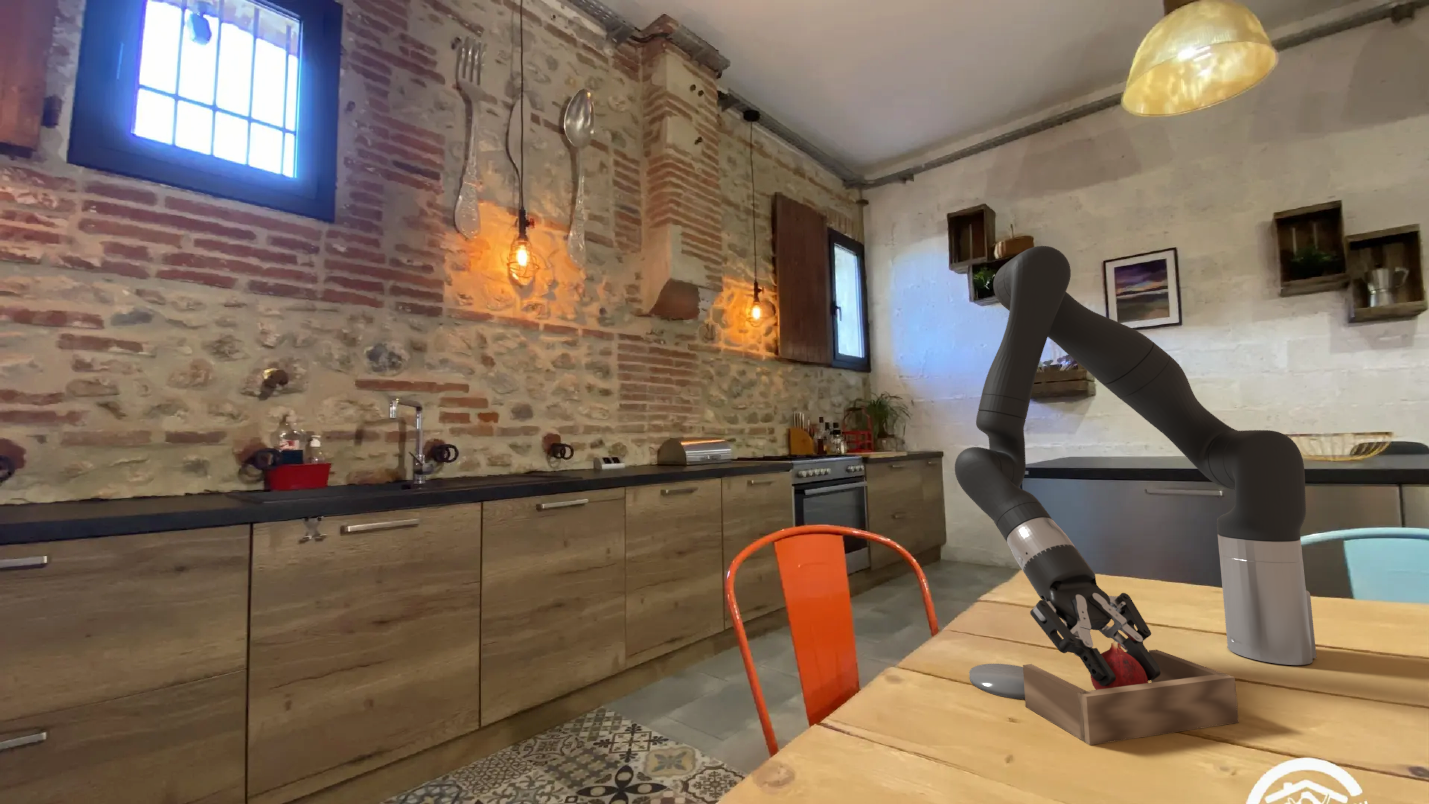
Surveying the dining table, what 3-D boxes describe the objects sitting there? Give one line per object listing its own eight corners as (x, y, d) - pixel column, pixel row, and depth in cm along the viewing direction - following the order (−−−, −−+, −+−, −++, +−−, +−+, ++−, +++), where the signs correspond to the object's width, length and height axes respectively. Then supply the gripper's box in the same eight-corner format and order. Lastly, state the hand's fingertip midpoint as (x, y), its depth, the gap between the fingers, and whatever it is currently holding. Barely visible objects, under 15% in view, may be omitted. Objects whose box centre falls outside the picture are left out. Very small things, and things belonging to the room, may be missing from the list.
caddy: (1159, 689, 77) (1156, 649, 77) (1238, 722, 67) (1234, 677, 68) (1025, 706, 72) (1022, 664, 73) (1089, 744, 63) (1086, 696, 63)
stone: (1016, 666, 85) (1015, 660, 85) (1070, 694, 76) (1070, 687, 76) (954, 673, 83) (954, 667, 83) (1002, 703, 74) (1002, 696, 74)
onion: (1161, 724, 67) (1155, 652, 68) (1105, 720, 68) (1100, 650, 69) (1136, 701, 73) (1131, 635, 74) (1084, 699, 74) (1080, 634, 75)
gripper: (1015, 545, 78) (1097, 672, 65) (1107, 539, 81) (1202, 659, 68) (991, 578, 83) (1063, 701, 70) (1078, 571, 86) (1163, 688, 73)
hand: (1131, 679), depth 69 cm, fingers closed on onion, 5 cm apart
